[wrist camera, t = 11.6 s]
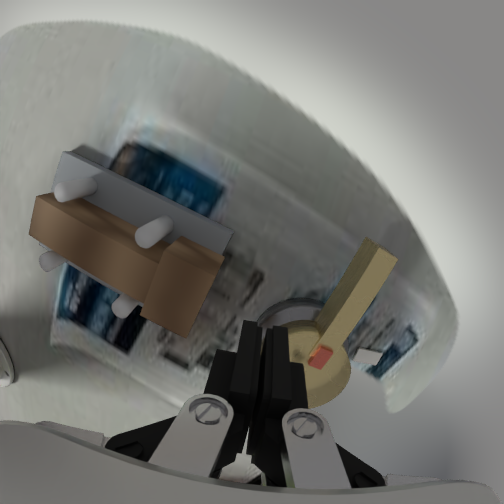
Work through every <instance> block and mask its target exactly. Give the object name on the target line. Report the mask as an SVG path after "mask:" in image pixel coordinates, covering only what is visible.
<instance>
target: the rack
mask: <svg viewBox="0 0 504 504" xmlns="http://www.w3.org/2000/svg"><path fill="white" fill-rule="evenodd" d="M52 192H54V195H55V198H56V199H57V201H59V202H65V201H69V200H73V199H77V198H83V199H85V200H87V201H88V202H90V203H92V204H94V205H96V206H98V207H100V208H102V209H103V210H105V211H107V212H109V213H111V214H113V215H115V216H117V217H119V218H121V219H122V220H124V221H126V222H128V223H130V224H132V225H134V226H136V227H138V229H137V231H136V233H135V240H136V243H137V244H138V245H139V246H140V247H142V248H150V247H151V246H153V245H154V244H155V243H157V242H158V241H159V240H163V241H165V242H167V243H169V244H172V243H173V242H174V241H176V240H177V239H178V238H179V237H180V236H183V237H185V238H187V239H189V240H191V241H193V242H195V243H197V244H200V245H202V246H204V247H206V248H208V249H210V250H212V251H214V252H216V253H218V254H220V255H222V254H223V252H224V250H225V248H226V246H227V244H228V242H229V240H230V238H231V236H232V234H233V232H234V231H233V230H231V229H229V228H227V227H225V226H223V225H221V224H219V223H217V222H215V221H213V220H211V219H209V218H207V217H205V216H203V215H201V214H199V213H197V212H195V211H193V210H191V209H189V208H187V207H185V206H183V205H180V204H178V203H176V202H174V201H172V200H170V199H168V198H166V197H164V196H162V195H160V194H158V193H156V192H154V191H152V190H150V189H148V188H146V187H144V186H142V185H140V184H138V183H135V182H133V181H131V180H129V179H127V178H125V177H123V176H121V175H119V174H117V173H115V172H113V171H111V170H109V169H107V168H104V167H102V166H100V165H98V164H96V163H94V162H92V161H90V160H88V159H86V158H84V157H82V156H79V155H77V154H75V153H73V152H71V151H63V152H62V155H61V158H60V162H59V165H58V168H57V171H56V175H55V178H54V182H53V185H52V189H51V193H52ZM39 245H40V246H42V247H43V248H45V249H46V250H48V252H46V253H44V254H42V255H41V256H40V258H39V263H40V266H41V268H42V269H43V270H44V271H46V272H49V271H51V270H52V269H54V268H56V267H57V266H59V265H61V264H63V263H64V262H66V263H68V264H69V265H71V266H73V267H74V268H76V269H77V270H79V271H81V272H82V273H84V274H86V275H87V276H89V277H91V278H92V279H94V280H96V281H97V282H99V283H101V284H102V285H104V286H106V287H107V288H109V289H111V290H113V291H114V292H116V293H118V294H120V296H119V297H118V298H117V299H116V300H115V301H114V302H113V304H112V311H113V313H114V314H115V315H116V316H117V317H119V318H126V317H127V316H128V315H129V314H130V313H131V312H132V310H133V309H134V308H135V307H136V306H137V305H140V306H141V307H143V305H144V304H143V303H141V302H139V301H138V300H136V299H134V298H132V297H130V296H128V295H127V294H125V293H123V292H121V291H119V290H118V289H116V288H114V287H112V286H111V285H109V284H107V283H105V282H104V281H102V280H100V279H99V278H97V277H95V276H93V275H92V274H90V273H88V272H87V271H85V270H83V269H82V268H80V267H78V266H77V265H75V264H74V263H72V262H70V261H69V260H67V259H66V258H64V257H62V256H61V255H59V254H58V253H56V252H55V251H53V250H51V249H50V248H48V247H47V246H45V245H44V244H42V243H41V242H39Z"/></svg>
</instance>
